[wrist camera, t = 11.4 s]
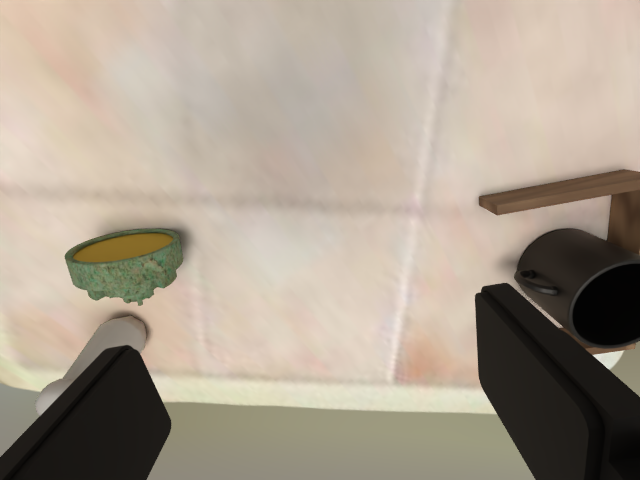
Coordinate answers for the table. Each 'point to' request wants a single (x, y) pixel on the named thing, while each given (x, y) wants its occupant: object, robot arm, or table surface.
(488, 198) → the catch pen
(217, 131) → the table surface
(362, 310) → the table surface
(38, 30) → the table surface
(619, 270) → the mug
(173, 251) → the decorative artifact
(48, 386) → the salt shaker
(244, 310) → the table surface
